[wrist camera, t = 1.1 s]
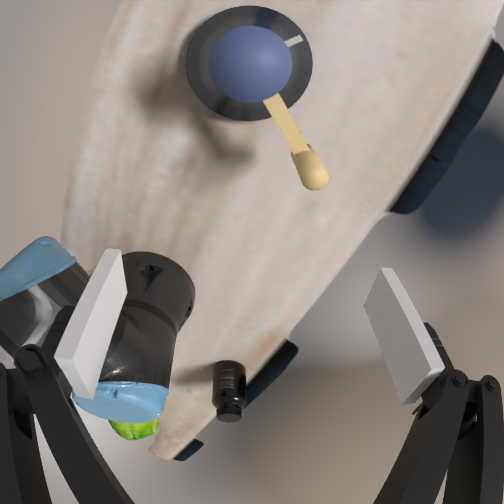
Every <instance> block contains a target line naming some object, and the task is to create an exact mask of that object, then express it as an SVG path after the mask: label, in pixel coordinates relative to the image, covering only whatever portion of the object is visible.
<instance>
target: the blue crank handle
mask: <svg viewBox="0 0 504 504" xmlns="http://www.w3.org/2000/svg"><path fill="white" fill-rule="evenodd" d="M291 71H292V57H291V53H290V50H289V48H288V46H287V45H286V43H285V42H284V41H283V40H282V39H281V38H280V37H279V36H278V35H277V34H275V33H274V32H272V31H270V30H268V29H265V28H262V27H257V26H243V27H239V28H235V29H233V30H231V31H229V32H227V33H225V34H224V35H223V36H222V37H220V38H219V40H218V41H217V42H216V43H215V45H214V46H213V48H212V50H211V53H210V56H209V72H210V76H211V78H212V80H213V82H214V84H215V85H216V87H217V88H218V89H219V90H220V91H221V92H222V93H224V94H225V95H226V96H228V97H230V98H232V99H234V100H237V101H242V102H259V101H263V102H264V104H265V105H266V107H267V109H268V111H269V112H270V114H271V116H272V117H273V119H274V121H275V123H276V124H277V126H278V128H279V129H280V131H281V133H282V135H283V136H284V138H285V140H286V142H287V144H288V145H289V147H290V149H291V157H292V159H293V162H294V164H295V166H296V169H297V171H298V174H299V176H300V179H301V181H302V183H303V185H304V186H305V187H306V188H307V189H309V190H313V191H316V190H320V189H322V188H323V187H324V186H325V185H326V184H327V182H328V179H329V175H328V172H327V170H326V169H325V167H324V166H323V164H322V162H321V161H320V159H319V158H318V156H317V155H316V153H315V152H314V150H313V149H312V147H311V146H310V145H309V144H307V143H306V142H305V140H304V138H303V136H302V134H301V132H300V131H299V129H298V127H297V125H296V123H295V121H294V120H293V118H292V116H291V114H290V112H289V111H288V109H287V107H286V105H285V104H284V102H283V100H282V98H281V97H280V95H279V93H278V92H280V91H281V90H282V89H283V88H284V86H285V85H286V83H287V82H288V80H289V78H290V75H291Z"/></svg>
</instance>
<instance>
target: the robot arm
mask: <svg viewBox="0 0 504 504" xmlns="http://www.w3.org/2000/svg"><path fill="white" fill-rule="evenodd" d="M76 261H77V259H76V258H75V257H74V256H71V255H70V254H69V253H68V252H67V251H66V250H65V249H64V248H63V247H62V246H61V245H60V244H59V243H58V242H57V241H56V240H55V239H54V238H52V237H48V236H44V237H40V238H38V239H37V240H35V241H34V242H32V243H31V244H29V245H28V246H27V247H26V248H24V249H23V250H22V251H21V252H19V253H18V254H17V255H16V256H15V257H14V258H12V259H11V260H10V261H9V262H8V263H7V264H6V265H5V266H3V267H2V268H1V269H0V504H52V502H51V498H50V494H49V491H48V487H47V483H46V479H45V476H44V471H43V467H42V462H41V458H40V452H39V447H38V442H37V436H36V429H35V423H34V416H33V414H36V417H37V419H38V422H39V424H40V427H41V429H42V432H43V434H44V436H45V438H46V441H47V443H48V445H49V448H50V449H51V452H52V454H53V456H54V458H55V460H56V462H57V464H58V466H59V468H60V470H61V472H62V474H63V476H64V478H65V479H66V481H67V483H68V485H69V487H70V489H71V490H72V492H73V494H74V496H75V497H76V499H77V501H78V502H79V504H135V503H134V502H133V501H132V500H131V498H130V497H129V495H128V494H127V493H126V491H125V490H124V488H123V487H122V486H121V484H120V483H119V481H118V480H117V478H116V477H115V475H114V474H113V472H112V471H111V469H110V467H109V466H108V464H107V463H106V461H105V460H104V458H103V456H102V455H101V453H100V451H99V450H98V448H97V446H96V445H95V443H94V441H93V439H92V438H91V436H90V434H89V433H88V430H87V429H86V427H85V425H84V423H83V421H82V419H81V417H80V415H79V414H78V411H77V410H76V407H75V406H74V403H73V401H72V399H71V398H70V396H71V392H72V398H73V400H74V401H75V403H76V404H77V405H78V406H79V407H80V408H82V409H83V410H85V411H87V412H89V413H91V414H93V415H96V416H98V417H101V418H104V419H108V420H112V421H117V422H123V423H145V422H150V421H152V420H155V419H156V418H158V417H159V416H160V415H161V413H162V412H163V409H164V404H165V400H166V396H167V395H168V389H169V382H170V375H171V368H172V361H173V355H174V349H175V342H176V337H177V334H178V332H179V331H180V329H181V328H182V326H183V325H184V323H185V322H186V320H187V319H188V317H189V316H190V314H191V312H192V310H193V306H194V301H195V287H194V284H193V282H192V280H191V278H190V276H189V275H188V274H187V272H186V271H185V270H184V269H183V268H182V267H181V266H179V265H178V264H177V263H175V262H174V261H172V260H170V259H169V258H166V257H164V256H162V255H159V254H155V253H149V252H134V253H130V254H127V255H124V256H121V250H119V249H106V250H105V252H104V254H103V256H102V257H101V259H100V261H99V263H98V265H97V267H96V269H95V270H94V272H93V274H92V276H91V277H90V276H89V275H88V274H87V273H86V272H85V271H84V269H83V268H82V267H81V266H80V265H79V264H78V263H77V262H76ZM364 308H365V310H366V312H367V315H368V317H369V319H370V322H371V324H372V327H373V330H374V332H375V335H376V337H377V340H378V342H379V345H380V348H381V350H382V353H383V355H384V358H385V361H386V363H387V366H388V369H389V372H390V374H391V377H392V380H393V383H394V385H395V388H396V391H397V394H398V397H399V400H400V403H401V405H405V404H411V403H415V402H416V400H417V399H418V398H419V397H420V396H421V397H422V399H423V402H422V403H421V404H420V405H419V406H418V407H417V408H416V409H415V410H414V411H413V413H412V414H415V413H416V412H417V414H416V417H415V419H414V421H413V424H412V426H411V429H410V431H409V433H408V436H407V438H406V440H405V443H404V445H403V447H402V449H401V451H400V453H399V456H398V458H397V460H396V462H395V464H394V466H393V468H392V470H391V472H390V474H389V476H388V478H387V480H386V482H385V483H384V485H383V487H382V489H381V491H380V493H379V494H378V496H377V498H376V500H375V501H374V503H373V504H434V502H435V500H436V498H437V495H438V493H439V490H440V488H441V485H442V483H443V480H444V477H445V474H446V472H447V478H446V479H447V480H446V485H445V492H444V498H443V504H502V500H503V489H504V419H503V406H502V396H501V388H500V384H499V382H498V381H497V380H496V379H495V378H494V377H493V376H491V375H486V376H484V377H483V378H482V379H481V380H480V381H474V380H469V379H468V377H467V376H466V375H465V374H464V373H463V372H462V371H460V370H455V369H454V367H453V365H452V363H451V361H450V359H449V357H448V355H447V353H446V351H445V349H444V347H443V346H442V343H441V341H440V340H439V337H438V335H437V333H436V332H435V330H434V329H433V328H432V327H431V326H430V325H429V324H428V323H423V322H422V320H421V319H420V317H419V315H418V313H417V311H416V309H415V307H414V305H413V304H412V302H411V300H410V298H409V297H408V295H407V293H406V291H405V289H404V288H403V286H402V284H401V282H400V281H399V279H398V277H397V276H396V274H395V272H394V271H393V269H392V268H380V269H379V272H378V274H377V277H376V279H375V281H374V284H373V286H372V289H371V291H370V293H369V295H368V298H367V300H366V302H365V304H364ZM476 416H477V421H476ZM447 469H448V471H447Z"/></svg>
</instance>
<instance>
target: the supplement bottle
mask: <svg viewBox="0 0 504 504" xmlns="http://www.w3.org/2000/svg"><path fill="white" fill-rule="evenodd" d="M212 403H213V405H214V406H215V407H216V408H217V410H216V412H217V419H218V420H220V421H222V422H237V421H239V420H241V413H242V408H243V407H244V406H245V405H246V369H245V367H244V366H243V365H242V364H240V363H238V362H235V361H223V362H220V363H218V364H217V365H216V366H215V367H214V373H213V391H212Z"/></svg>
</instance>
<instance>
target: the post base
mask: <svg viewBox="0 0 504 504" xmlns="http://www.w3.org/2000/svg"><path fill="white" fill-rule="evenodd" d="M243 26H257V27H262V28H265V29H268V30H270V31H272V32H274V33H275V34H277V35H278V36H279V37H280V38H281V39H282V40H283V41H284V42H285V43H286V45H287V46H288V48H289V50H290V53H291V57H292V71H291V75H290V78H289V80H288V82H287V83H286V85H285V86H284V88H283V89H282V90H281V91H280V92H278V93H279V95H280V97H281V98H282V100H283V102H284V104H285V105H286V107H287V109H288V108H290V107H291V106H292V105H293V104H294V103H295V102H296V101H297V100H298V99H299V98H300V97H301V96H302V94H303V93H304V91H305V89H306V88H307V86H308V83H309V81H310V78H311V74H312V66H313V63H312V53H311V49H310V46H309V43H308V41H307V39H306V37H305V35H304V34H303V32H302V31H301V29H300V28H299V27H298V26H297V25H296V24H295V23H294V22H293V21H292V20H290V19H289V18H288V17H286V16H285V15H283V14H281V13H279V12H277V11H275V10H272V9H269V8H265V7H260V6H239V7H234V8H230V9H227V10H224V11H222V12H220V13H218V14H216V15H214V16H213V17H211V18H210V19H209V20H207V21H206V22H205V23H204V24H203V25H202V26H201V27H200V28H199V29H198V31H197V32H196V34H195V35H194V37H193V39H192V41H191V43H190V46H189V48H188V53H187V59H186V68H187V75H188V78H189V82H190V84H191V86H192V88H193V90H194V92H195V93H196V95H197V96H198V97H199V99H200V100H201V101H202V102H203V103H204V104H205V105H206V106H208V107H209V108H210V109H212V110H213V111H215V112H217V113H218V114H221V115H223V116H225V117H228V118H232V119H236V120H243V121H255V120H262V119H267V118H270V117H272V116H271V114H270V112H269V111H268V109H267V107H266V105H265V104H264V102H263V101H259V102H242V101H237V100H234V99H232V98H230V97H228V96H226V95H225V94H224V93H222V92H221V91H220V90H219V89H218V88H217V87H216V85H215V84H214V82H213V80H212V78H211V76H210V72H209V56H210V53H211V50H212V48H213V46H214V45H215V43H216V42H217V41H218V40H219V38H220V37H222V36H223V35H224V34H225V33H227V32H229V31H231V30H233V29H235V28H239V27H243Z"/></svg>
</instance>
